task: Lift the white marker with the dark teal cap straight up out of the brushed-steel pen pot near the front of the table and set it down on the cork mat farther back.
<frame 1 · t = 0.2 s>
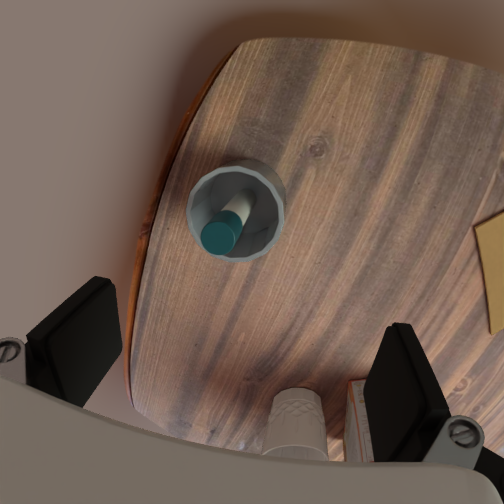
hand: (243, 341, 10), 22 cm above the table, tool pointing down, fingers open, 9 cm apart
cracker box: (365, 410, 40), on the table
white cup: (296, 402, 40), on the table
pen pot: (246, 197, 31), on the table
marker: (245, 199, 31), resting on pen pot
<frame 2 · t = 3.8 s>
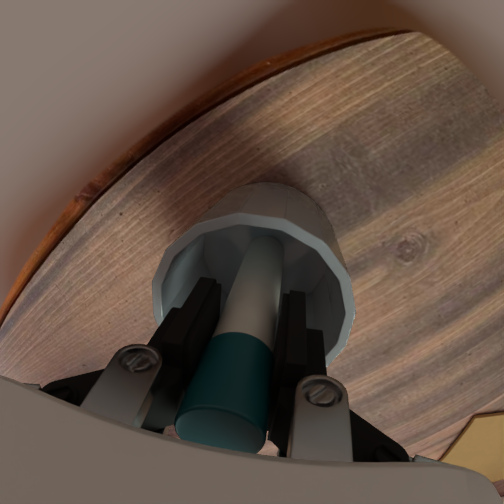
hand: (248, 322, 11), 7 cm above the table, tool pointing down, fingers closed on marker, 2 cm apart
pen pot: (266, 249, 18), on the table
marker: (265, 253, 18), point 1 cm above the table, touching gripper, pen pot
cork mat: (500, 452, 23), on the table
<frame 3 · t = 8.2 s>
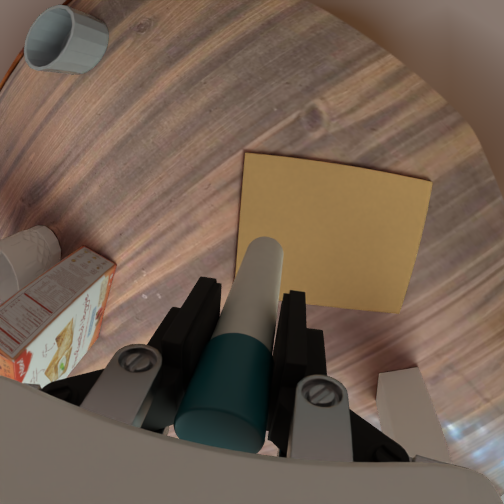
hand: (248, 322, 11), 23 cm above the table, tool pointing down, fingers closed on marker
cracker box: (92, 293, 41), on the table
white cup: (45, 246, 40), on the table
pen pot: (83, 45, 29), on the table
marker: (265, 253, 18), point 17 cm above the table, touching gripper
milk: (396, 383, 41), on the table
cork mat: (332, 238, 34), on the table
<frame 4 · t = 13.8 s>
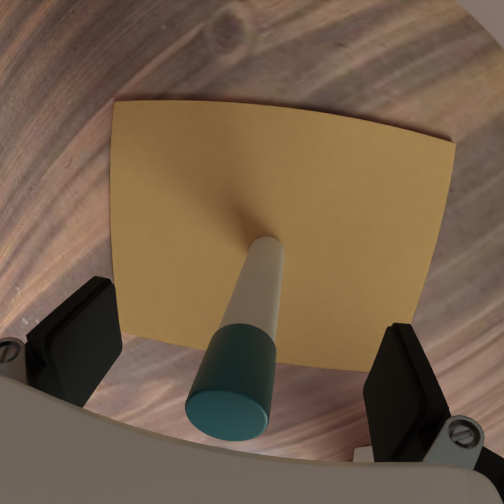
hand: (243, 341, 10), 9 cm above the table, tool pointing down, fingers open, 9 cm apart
marker: (266, 252, 19), resting on cork mat
cork mat: (267, 247, 19), on the table
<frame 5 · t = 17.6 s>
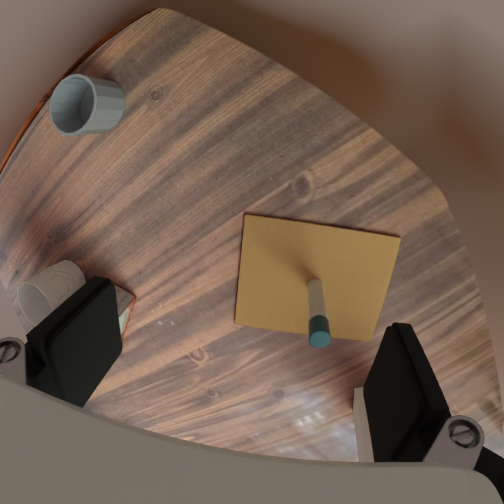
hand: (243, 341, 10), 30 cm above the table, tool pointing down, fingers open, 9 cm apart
cracker box: (114, 318, 49), on the table
white cup: (71, 277, 48), on the table
pen pot: (101, 105, 37), on the table
marker: (315, 285, 42), resting on cork mat
milk: (370, 396, 49), on the table
cork mat: (314, 283, 42), on the table
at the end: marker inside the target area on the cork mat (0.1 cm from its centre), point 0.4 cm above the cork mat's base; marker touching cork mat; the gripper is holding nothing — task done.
